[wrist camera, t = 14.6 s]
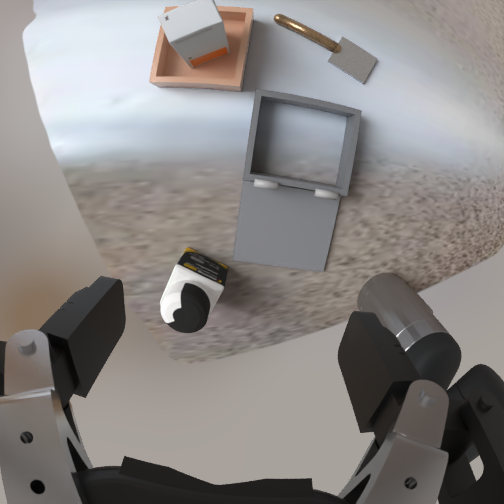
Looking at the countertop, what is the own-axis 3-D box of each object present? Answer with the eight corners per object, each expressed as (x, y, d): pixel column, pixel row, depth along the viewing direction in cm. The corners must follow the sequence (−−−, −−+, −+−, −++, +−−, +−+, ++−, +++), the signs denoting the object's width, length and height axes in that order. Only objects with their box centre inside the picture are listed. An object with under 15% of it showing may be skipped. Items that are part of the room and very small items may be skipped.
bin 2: (353, 112, 37) (363, 110, 33) (322, 270, 45) (328, 282, 41) (255, 93, 36) (255, 87, 32) (233, 258, 45) (230, 270, 41)
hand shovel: (266, 30, 32) (266, 26, 31) (281, 7, 31) (282, 3, 29) (362, 83, 35) (366, 81, 33) (375, 59, 33) (379, 57, 32)
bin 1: (253, 19, 32) (253, 8, 28) (241, 91, 36) (239, 86, 32) (172, 17, 31) (165, 7, 27) (158, 87, 35) (149, 82, 32)
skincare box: (191, 70, 34) (167, 44, 23) (181, 46, 33) (155, 15, 21) (232, 54, 33) (224, 21, 22) (222, 30, 32) (210, -7, 21)
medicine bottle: (229, 266, 45) (221, 307, 34) (210, 301, 47) (198, 347, 36) (187, 245, 44) (165, 281, 33) (170, 282, 46) (148, 324, 35)
